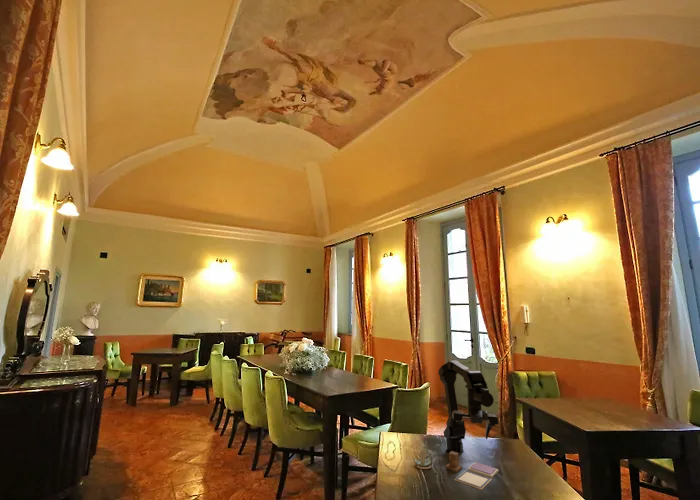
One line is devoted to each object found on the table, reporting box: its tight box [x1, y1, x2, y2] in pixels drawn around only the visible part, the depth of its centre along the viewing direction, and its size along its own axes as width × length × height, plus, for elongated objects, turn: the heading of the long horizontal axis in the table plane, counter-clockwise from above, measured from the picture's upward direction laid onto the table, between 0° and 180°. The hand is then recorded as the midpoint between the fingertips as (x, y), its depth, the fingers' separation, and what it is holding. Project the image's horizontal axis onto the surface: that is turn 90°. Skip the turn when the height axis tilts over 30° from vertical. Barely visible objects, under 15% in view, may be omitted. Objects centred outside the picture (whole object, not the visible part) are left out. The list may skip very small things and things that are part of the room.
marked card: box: [454, 469, 492, 491], centre depth 143 cm, size 11×11×1 cm
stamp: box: [445, 451, 463, 474], centre depth 153 cm, size 5×5×6 cm
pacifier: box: [414, 449, 432, 470], centre depth 154 cm, size 7×6×6 cm
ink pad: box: [467, 461, 499, 479], centre depth 151 cm, size 10×8×1 cm
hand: (475, 437), depth 155 cm, fingers open, 9 cm apart
